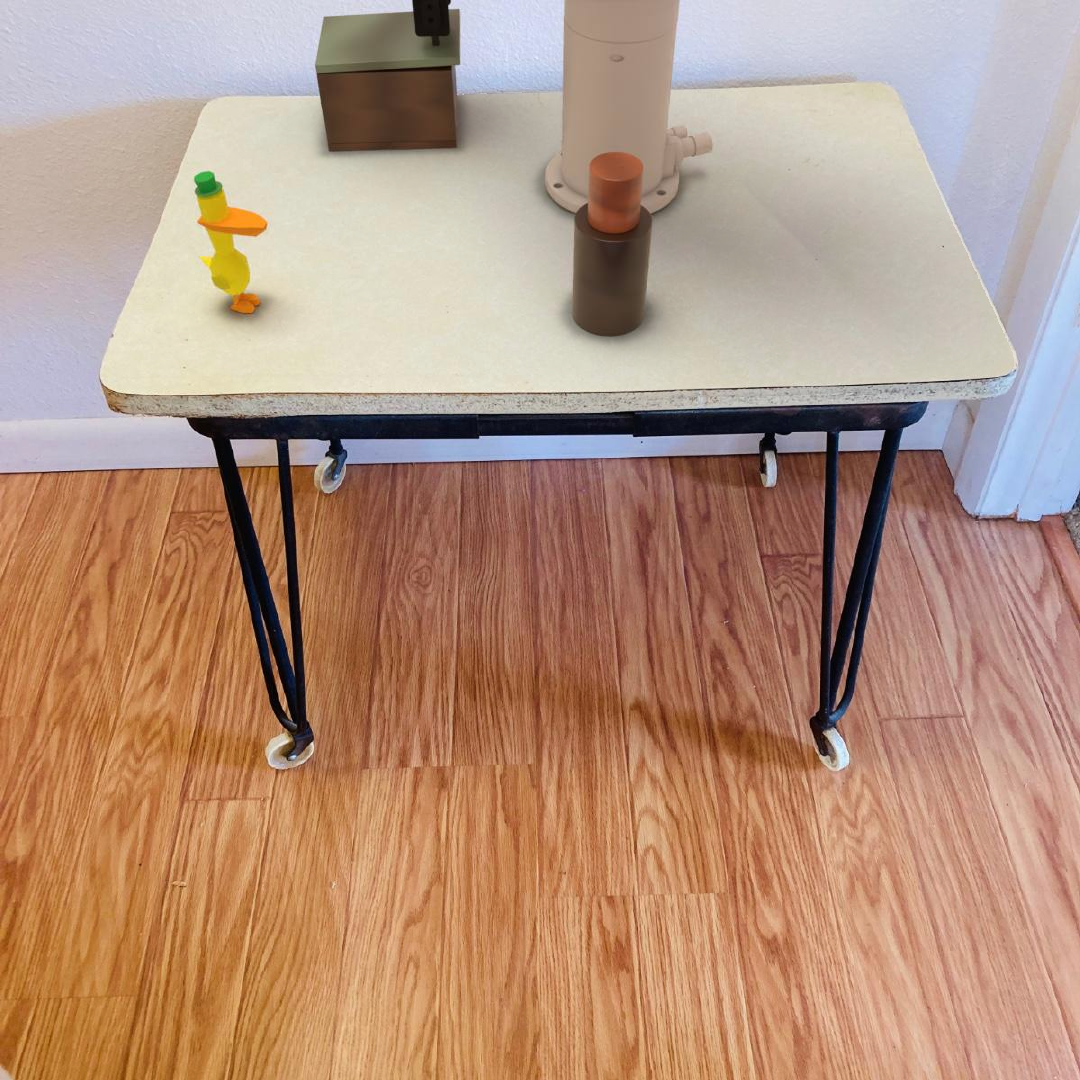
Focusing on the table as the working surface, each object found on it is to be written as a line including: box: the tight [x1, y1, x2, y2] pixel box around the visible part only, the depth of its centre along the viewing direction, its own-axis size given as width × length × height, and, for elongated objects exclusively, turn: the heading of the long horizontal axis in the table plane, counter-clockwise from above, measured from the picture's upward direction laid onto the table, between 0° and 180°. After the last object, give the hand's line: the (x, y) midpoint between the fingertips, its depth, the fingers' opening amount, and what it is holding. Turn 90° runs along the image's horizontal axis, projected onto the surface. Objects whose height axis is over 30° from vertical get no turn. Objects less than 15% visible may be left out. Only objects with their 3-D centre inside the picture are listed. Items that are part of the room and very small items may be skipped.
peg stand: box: [571, 203, 653, 337], centre depth 87 cm, size 6×6×9 cm
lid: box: [314, 8, 461, 74], centre depth 102 cm, size 13×10×6 cm
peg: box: [587, 152, 643, 234], centre depth 82 cm, size 4×4×4 cm
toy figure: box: [193, 170, 268, 314], centre depth 86 cm, size 7×4×12 cm, turn 75°
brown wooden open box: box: [316, 65, 458, 152], centre depth 107 cm, size 13×10×8 cm
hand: (433, 17), depth 102 cm, fingers closed on lid, 5 cm apart
